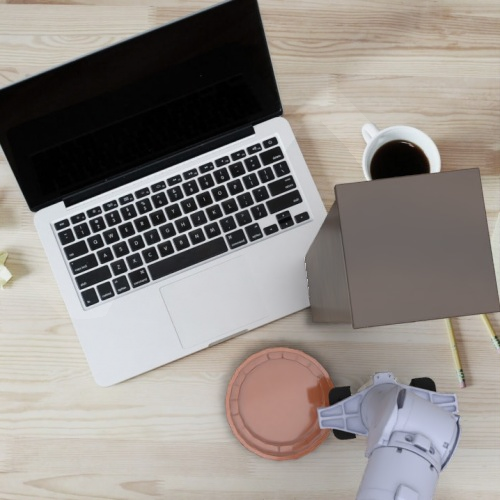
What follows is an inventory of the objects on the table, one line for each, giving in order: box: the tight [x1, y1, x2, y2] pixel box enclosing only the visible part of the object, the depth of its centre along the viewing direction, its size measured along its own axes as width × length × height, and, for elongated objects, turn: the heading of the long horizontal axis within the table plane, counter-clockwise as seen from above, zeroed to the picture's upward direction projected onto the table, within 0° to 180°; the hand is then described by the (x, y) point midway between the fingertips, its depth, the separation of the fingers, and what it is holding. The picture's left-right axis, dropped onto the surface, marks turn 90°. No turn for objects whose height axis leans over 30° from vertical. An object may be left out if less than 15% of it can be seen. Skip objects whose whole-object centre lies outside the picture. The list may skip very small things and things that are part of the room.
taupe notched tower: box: [304, 166, 500, 330], centre depth 65 cm, size 9×9×47 cm
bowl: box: [224, 345, 336, 462], centre depth 85 cm, size 13×13×4 cm
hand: (375, 401), depth 83 cm, fingers closed on toy creature, 6 cm apart
